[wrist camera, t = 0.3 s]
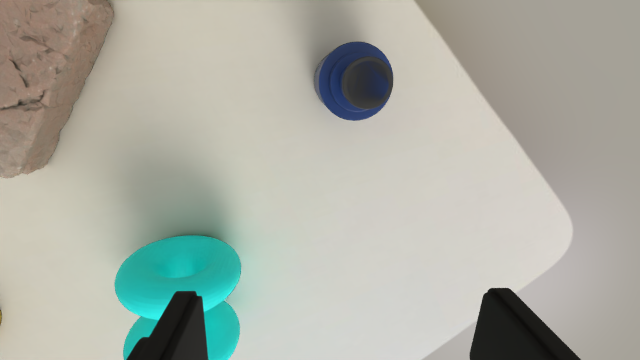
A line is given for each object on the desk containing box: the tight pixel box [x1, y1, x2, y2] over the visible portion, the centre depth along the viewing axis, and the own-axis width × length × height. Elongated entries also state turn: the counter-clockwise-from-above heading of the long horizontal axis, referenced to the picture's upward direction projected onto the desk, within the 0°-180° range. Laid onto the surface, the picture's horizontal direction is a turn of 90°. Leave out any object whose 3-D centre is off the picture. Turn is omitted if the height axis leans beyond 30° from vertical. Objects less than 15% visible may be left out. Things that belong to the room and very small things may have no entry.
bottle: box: [314, 42, 393, 121], centre depth 23 cm, size 5×5×11 cm
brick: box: [0, 0, 114, 178], centre depth 24 cm, size 17×8×5 cm, turn 145°
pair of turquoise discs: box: [115, 235, 241, 360], centre depth 29 cm, size 10×10×10 cm
